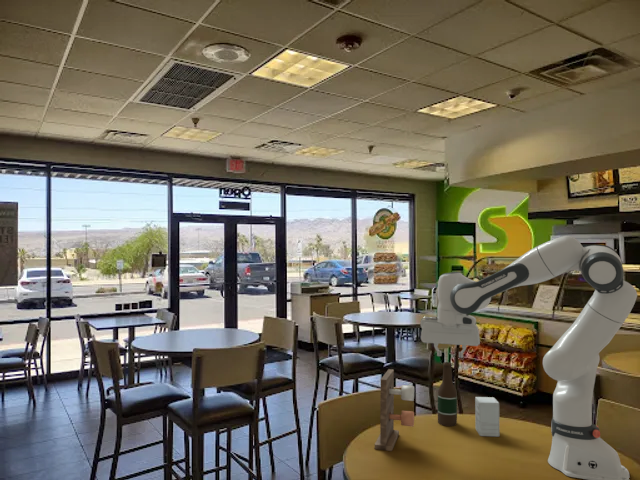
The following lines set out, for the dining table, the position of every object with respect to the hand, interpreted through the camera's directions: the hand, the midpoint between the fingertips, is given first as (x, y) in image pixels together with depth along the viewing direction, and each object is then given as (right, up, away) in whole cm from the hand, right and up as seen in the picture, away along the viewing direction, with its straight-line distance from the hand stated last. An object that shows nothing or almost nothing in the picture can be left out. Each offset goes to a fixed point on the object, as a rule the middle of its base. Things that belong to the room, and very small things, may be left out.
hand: (450, 356), depth 170 cm
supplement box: (+17, -32, +12) cm, 38 cm away
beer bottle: (+5, -32, +22) cm, 39 cm away
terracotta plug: (-18, -25, +1) cm, 30 cm away
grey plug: (-18, -16, +2) cm, 24 cm away
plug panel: (-22, -31, +2) cm, 38 cm away
